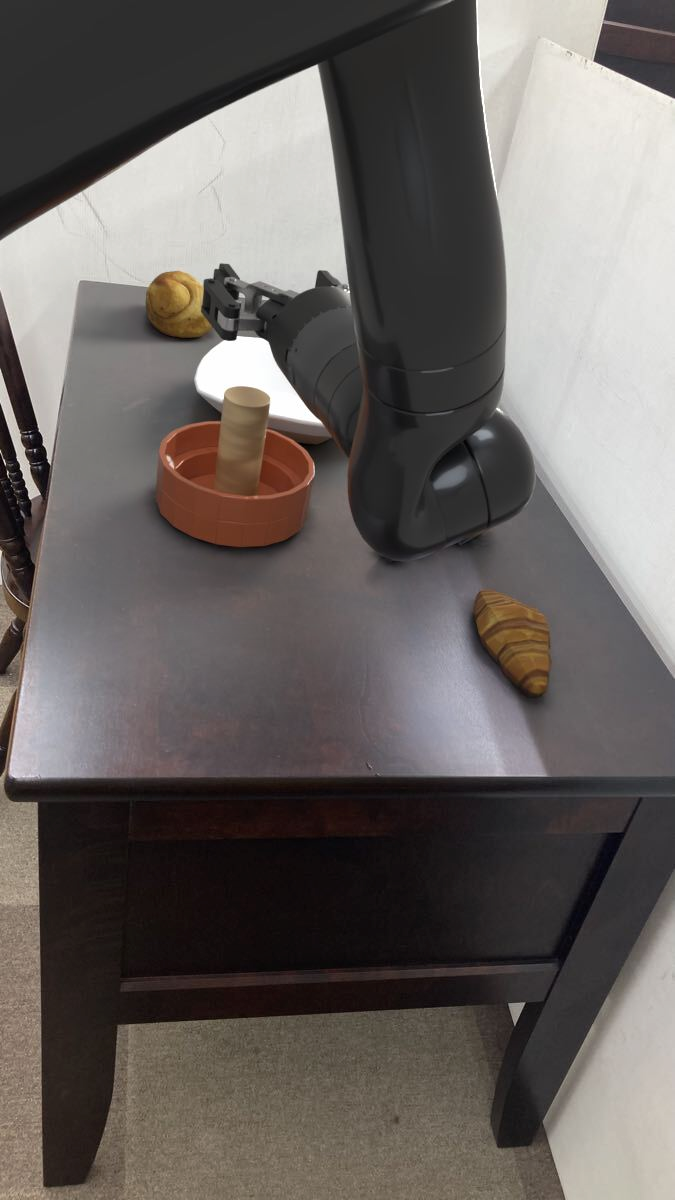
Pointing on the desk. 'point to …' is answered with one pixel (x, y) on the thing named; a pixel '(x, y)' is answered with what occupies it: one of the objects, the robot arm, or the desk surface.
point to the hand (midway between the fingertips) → (271, 278)
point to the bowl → (258, 386)
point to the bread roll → (176, 305)
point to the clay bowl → (228, 515)
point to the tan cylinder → (241, 440)
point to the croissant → (515, 640)
